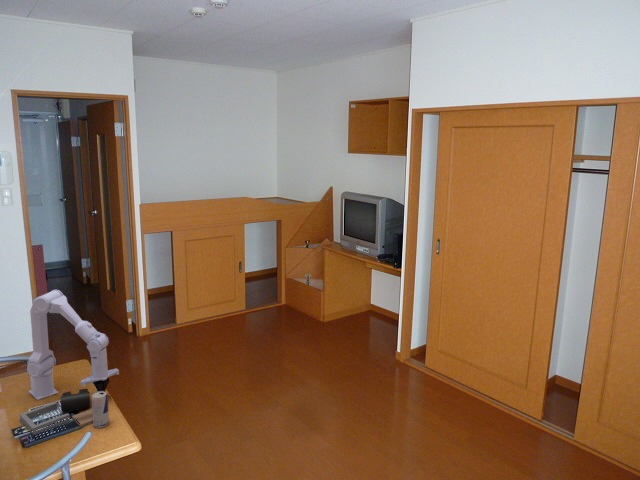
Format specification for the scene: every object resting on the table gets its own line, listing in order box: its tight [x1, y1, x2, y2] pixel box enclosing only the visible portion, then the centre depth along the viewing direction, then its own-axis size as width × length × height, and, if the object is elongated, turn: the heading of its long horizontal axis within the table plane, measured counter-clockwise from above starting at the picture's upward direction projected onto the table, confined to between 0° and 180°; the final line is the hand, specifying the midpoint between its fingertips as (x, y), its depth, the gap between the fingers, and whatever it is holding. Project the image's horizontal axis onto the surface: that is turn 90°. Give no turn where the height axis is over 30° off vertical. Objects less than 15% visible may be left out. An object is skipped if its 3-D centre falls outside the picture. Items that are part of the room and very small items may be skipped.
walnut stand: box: [71, 408, 93, 428], centre depth 185 cm, size 8×8×1 cm
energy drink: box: [91, 391, 110, 429], centre depth 181 cm, size 5×5×12 cm
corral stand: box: [19, 401, 71, 435], centre depth 183 cm, size 13×12×2 cm
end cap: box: [60, 388, 91, 414], centre depth 191 cm, size 10×7×7 cm
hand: (101, 396), depth 199 cm, fingers closed
